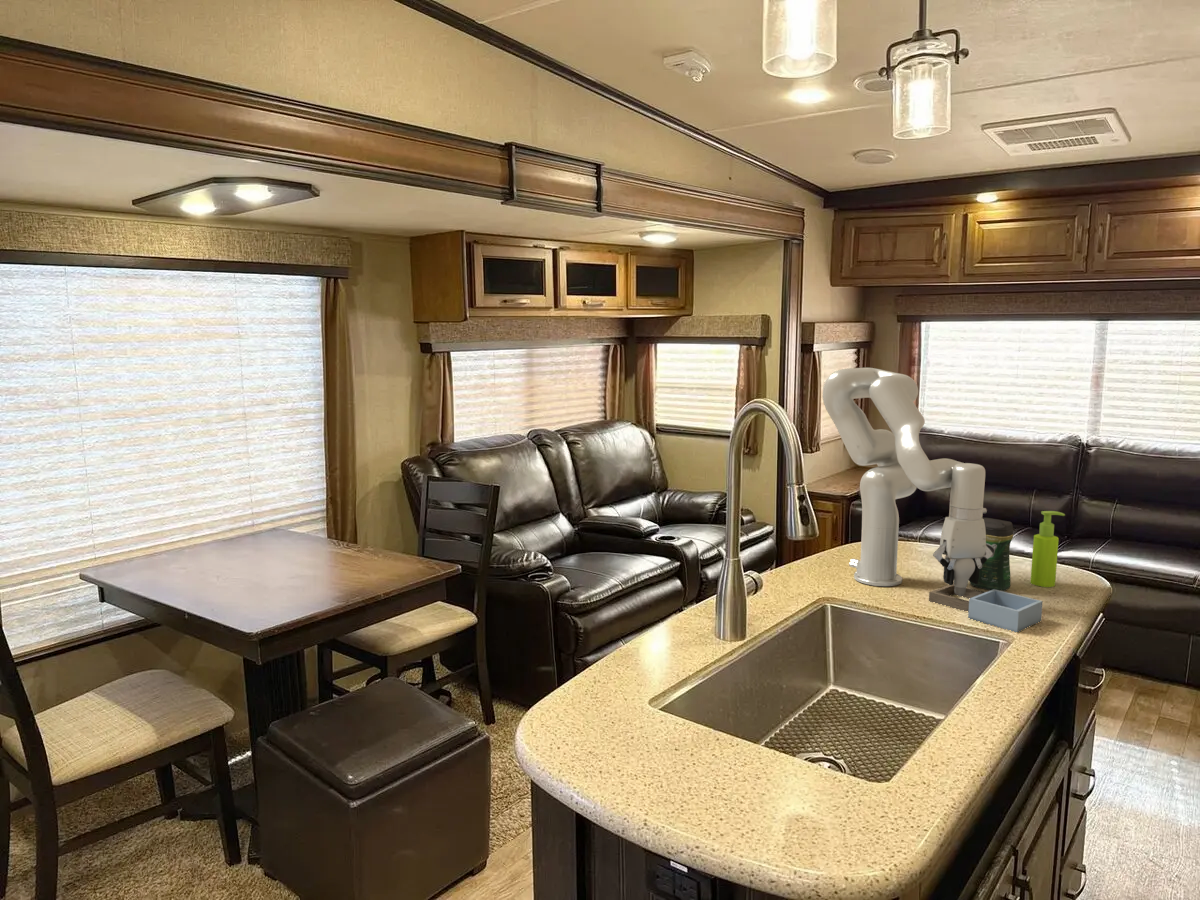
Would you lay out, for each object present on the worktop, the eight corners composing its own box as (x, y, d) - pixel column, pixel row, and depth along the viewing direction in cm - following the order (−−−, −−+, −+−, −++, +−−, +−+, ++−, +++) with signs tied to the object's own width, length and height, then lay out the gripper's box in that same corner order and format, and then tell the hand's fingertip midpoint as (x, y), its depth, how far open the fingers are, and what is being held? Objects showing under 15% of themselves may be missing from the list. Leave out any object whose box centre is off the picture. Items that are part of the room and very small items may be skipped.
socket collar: (928, 601, 207) (929, 591, 207) (951, 592, 214) (952, 583, 213) (970, 613, 199) (971, 603, 198) (993, 603, 205) (994, 594, 205)
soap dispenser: (1062, 588, 217) (1068, 514, 214) (1034, 586, 218) (1039, 513, 216) (1054, 581, 223) (1060, 509, 220) (1027, 580, 224) (1032, 508, 221)
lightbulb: (947, 590, 210) (949, 549, 209) (973, 594, 208) (976, 552, 206) (946, 598, 205) (948, 555, 203) (972, 601, 202) (975, 558, 201)
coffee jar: (1014, 588, 217) (1019, 519, 215) (1001, 594, 212) (1005, 524, 210) (978, 579, 225) (982, 513, 222) (964, 585, 220) (968, 518, 217)
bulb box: (968, 618, 195) (969, 598, 194) (992, 608, 202) (993, 589, 201) (1017, 632, 186) (1018, 611, 185) (1041, 621, 192) (1042, 601, 192)
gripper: (988, 508, 208) (983, 577, 211) (925, 510, 205) (920, 579, 208) (1007, 515, 200) (1001, 586, 203) (941, 517, 198) (936, 589, 201)
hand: (960, 582), depth 206 cm, fingers closed on lightbulb, 5 cm apart
